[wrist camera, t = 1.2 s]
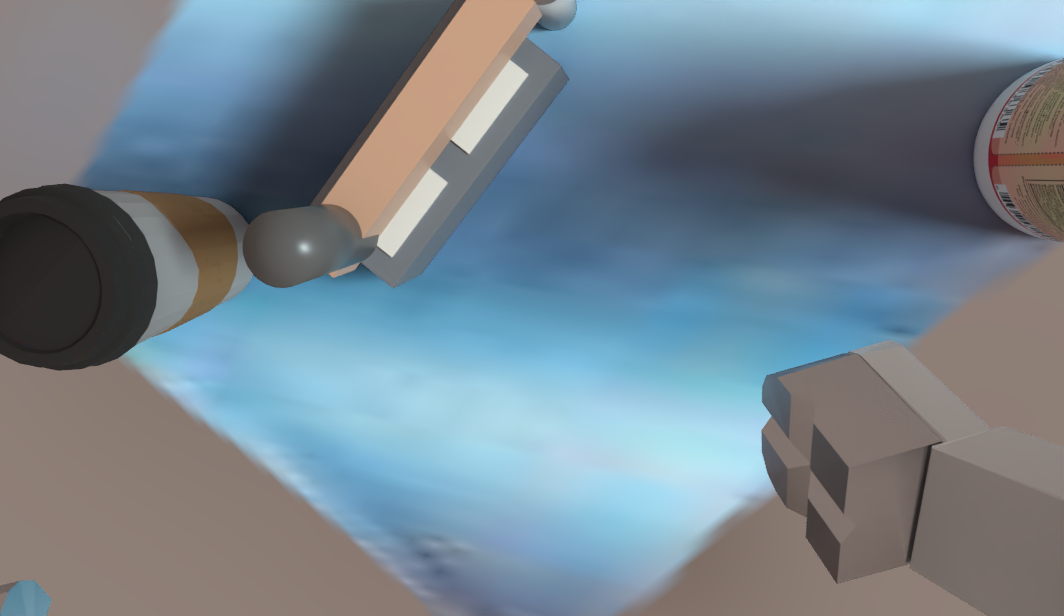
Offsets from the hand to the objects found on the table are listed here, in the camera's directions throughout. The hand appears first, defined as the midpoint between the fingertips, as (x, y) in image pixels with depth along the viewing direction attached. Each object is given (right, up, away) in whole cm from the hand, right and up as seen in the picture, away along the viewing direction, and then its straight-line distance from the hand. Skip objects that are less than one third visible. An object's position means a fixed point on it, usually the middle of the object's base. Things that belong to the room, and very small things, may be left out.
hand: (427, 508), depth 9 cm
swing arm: (-3, +12, +29) cm, 31 cm away
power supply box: (-2, +13, +37) cm, 39 cm away
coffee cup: (-18, +6, +40) cm, 44 cm away
